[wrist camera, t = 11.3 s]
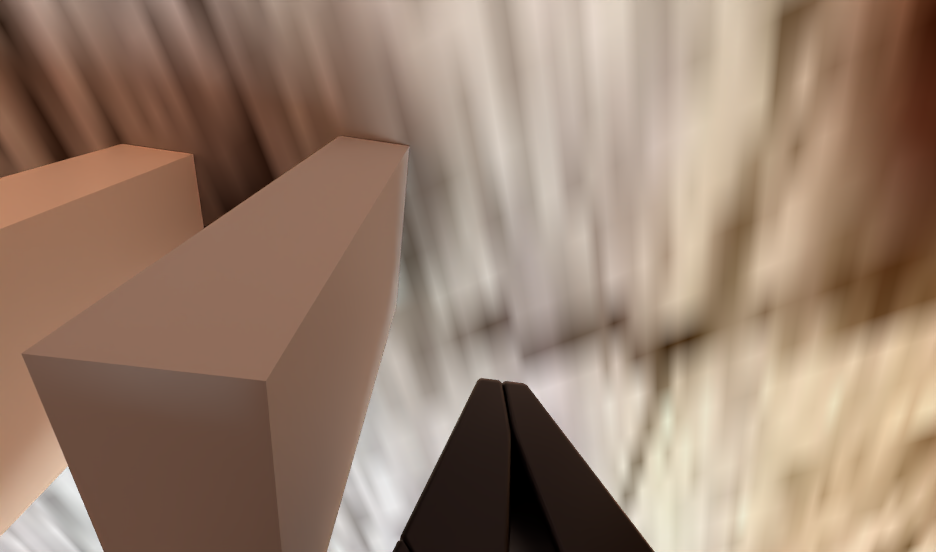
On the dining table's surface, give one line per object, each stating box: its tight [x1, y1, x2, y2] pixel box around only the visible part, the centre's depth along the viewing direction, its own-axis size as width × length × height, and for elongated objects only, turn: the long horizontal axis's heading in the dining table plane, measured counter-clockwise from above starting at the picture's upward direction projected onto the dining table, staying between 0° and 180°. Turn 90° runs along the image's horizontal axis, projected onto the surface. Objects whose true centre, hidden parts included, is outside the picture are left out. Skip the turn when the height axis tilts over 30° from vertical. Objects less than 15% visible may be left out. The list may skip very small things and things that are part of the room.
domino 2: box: [21, 136, 409, 552], centre depth 8 cm, size 4×2×8 cm, turn 172°
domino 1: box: [0, 144, 204, 536], centre depth 8 cm, size 4×2×8 cm, turn 172°
